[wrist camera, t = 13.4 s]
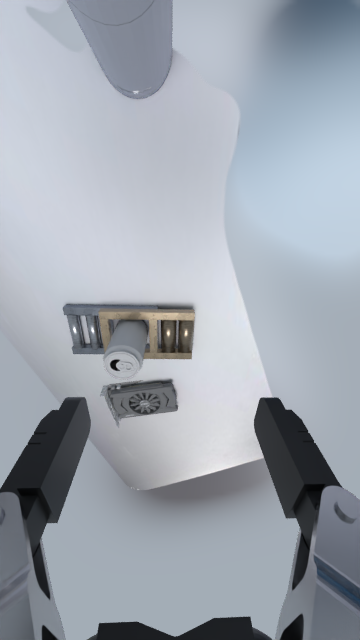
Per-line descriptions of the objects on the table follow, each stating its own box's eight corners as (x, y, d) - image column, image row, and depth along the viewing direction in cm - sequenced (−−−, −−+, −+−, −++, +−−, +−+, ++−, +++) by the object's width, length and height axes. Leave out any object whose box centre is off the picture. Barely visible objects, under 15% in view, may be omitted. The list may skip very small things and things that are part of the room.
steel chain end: (65, 304, 43) (61, 308, 42) (157, 305, 44) (157, 310, 42) (76, 349, 48) (72, 355, 47) (158, 350, 49) (157, 355, 47)
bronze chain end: (102, 305, 44) (98, 311, 41) (194, 306, 44) (195, 313, 42) (109, 350, 49) (105, 358, 46) (191, 350, 49) (192, 359, 47)
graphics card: (113, 429, 56) (98, 396, 50) (116, 416, 60) (103, 383, 54) (180, 421, 56) (173, 386, 50) (180, 408, 59) (173, 374, 53)
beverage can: (116, 313, 45) (100, 348, 34) (149, 316, 45) (142, 352, 35) (116, 340, 48) (101, 380, 37) (147, 342, 48) (140, 383, 38)
